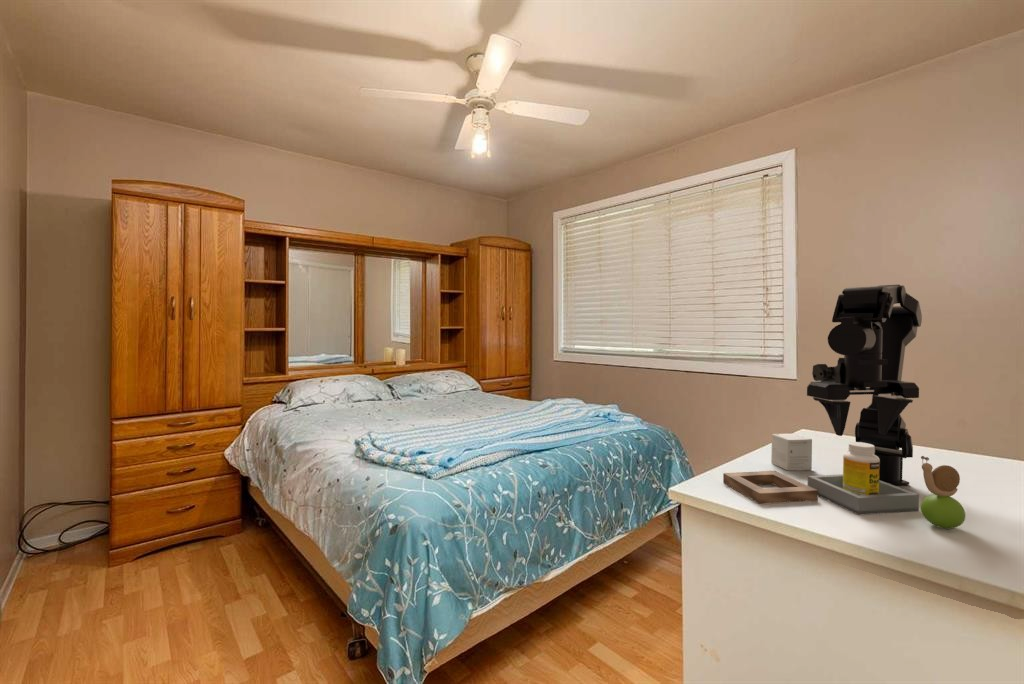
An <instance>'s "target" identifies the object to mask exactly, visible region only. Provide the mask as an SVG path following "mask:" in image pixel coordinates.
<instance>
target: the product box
mask: <svg viewBox="0 0 1024 684" xmlns="http://www.w3.org/2000/svg"><path fill="white" fill-rule="evenodd" d="M770 461H771V464H772V465H775V466H777V467H780V468H782V469H784V470H786V471H787V472H791V471H811V470H812V469H813V467H812V466H813V464H812V462H813V439H812V438H810V437H808V436H807V437H806V436H804V435H800V434H799V433H772V434H771V457H770Z"/></svg>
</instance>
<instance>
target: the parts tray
mask: <svg viewBox="0 0 1024 684" xmlns="http://www.w3.org/2000/svg"><path fill="white" fill-rule="evenodd" d="M807 485H808V486H810V487H812V488H814V489H816V490H818V497H820V498H822V499H824V500H827V501H828V502H830V503H832V504H835V505H836V506H839V507H841V508H843V509H845V510H847V511H849V512H852V513H854V514H856V515H857V516H858V515H859V516H861V515H863V516H864V515H876V514H891V513H892V514H893V513H894V514H895V513H909V512H919V506H920V505H919V502H920V501H919V500H920V494H918V493H915V492H913V491H910V490H907V489H905V488H902V487H900V486H898V485H891V484H889V483H886V482H883V481H881V480H879V495H864V496H858V495H856V494H854V493H851V492H849V491H847V490H844V489H843V473H842V474H840V473H839V474H827V475H826V474H825V475H808V476H807Z"/></svg>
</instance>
